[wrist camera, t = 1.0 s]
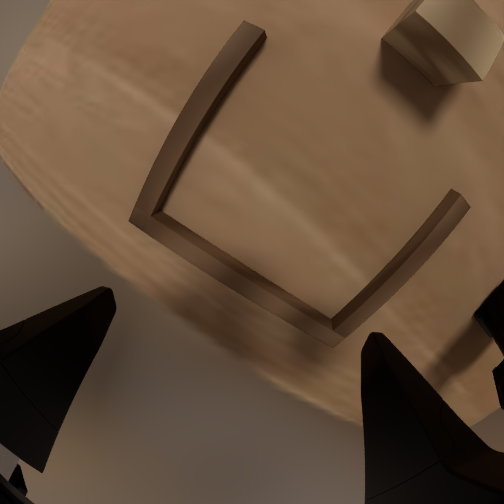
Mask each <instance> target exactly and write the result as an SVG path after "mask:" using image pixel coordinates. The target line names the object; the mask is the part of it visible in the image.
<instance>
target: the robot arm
mask: <svg viewBox="0 0 504 504" xmlns="http://www.w3.org/2000/svg"><path fill="white" fill-rule="evenodd" d="M115 312H116V303H115V299H114V295H113V291H112V289H111V288H108V287H104V286H101V287H98V288H96V289H94V290H91V291H89V292H87V293H84V294H82V295H80V296H77V297H75V298H73V299H70V300H68V301H66V302H63V303H61V304H59V305H57V306H54V307H52V308H50V309H47V310H45V311H43V312H41V313H39V314H36V315H34V316H32V317H30V318H27V319H26V320H23V321H21V322H19V323H16V324H14V325H12V326H10V327H7V328H5V329H2V330H0V504H34V503H33V502H32V501H30V500H29V499H28V498H26V497H25V496H26V494H27V492H28V491H27V488H26V485H25V481H24V478H23V474H22V470H21V467H20V465H19V464H18V461H19V459H21V460H23V461H24V462H26V463H27V464H29V465H30V466H32V467H33V468H35V469H36V470H38V471H39V472H41V473H43V471H44V468H45V466H46V463H47V460H48V458H49V455H50V452H51V450H52V447H53V445H54V442H55V440H56V437H57V435H58V432H59V430H60V428H61V425H62V423H63V421H64V418H65V416H66V414H67V412H68V409H69V407H70V405H71V403H72V401H73V399H74V397H75V395H76V393H77V390H78V389H79V386H80V384H81V383H82V381H83V379H84V377H85V374H86V373H87V371H88V369H89V367H90V365H91V363H92V361H93V359H94V357H95V356H96V354H97V352H98V350H99V348H100V346H101V344H102V342H103V340H104V338H105V335H106V333H107V331H108V328H109V326H110V324H111V321H112V319H113V317H114V315H115ZM475 318H476V320H477V321H478V322H479V324H480V325H481V326H482V327H483V329H484V330H485V331H486V333H487V334H488V335H489V337H490V338H491V337H493V339H494V340H495V342H496V344H497V345H498V347H499V349H500V350H501V352H502V354H503V356H504V282H503V283H502V284H501V285H500V287H499V288H498V289H497V290H496V291H495V292H494V294H493V295H492V296H491V297H490V298H489V299H488V300H487V301H486V302H485V304H484V305H483V306H482V307H481V308H480V309H479V310H478V311H477V312H476V313H475ZM492 372H493V376H494V381H495V385H496V389H497V393H498V398H499V403H500V406H501V408H502V409H503V410H504V359H503V361H502V362H501V363H500V364H499V365H498V366H497V367H495V368H494V369H493V371H492ZM361 402H362V414H363V428H364V446H365V504H504V453H503V452H498V451H496V450H493V449H492V448H490V447H489V446H488V445H486V444H485V443H484V442H483V441H482V440H481V439H480V438H479V437H478V436H477V435H476V434H475V433H474V432H473V431H472V430H471V429H470V428H469V427H468V426H467V425H466V424H465V423H464V422H463V421H462V420H461V419H460V418H459V417H458V416H457V414H456V413H455V412H454V411H453V410H452V409H451V408H450V407H449V406H448V404H447V403H446V402H445V401H444V400H442V398H441V396H440V395H439V394H438V393H437V392H436V391H435V390H434V388H433V387H432V386H431V385H430V384H429V383H428V382H427V381H426V379H425V378H424V377H423V376H422V375H421V374H420V373H419V372H418V371H417V369H416V368H415V367H414V366H413V365H412V364H411V363H410V362H409V361H408V360H407V359H406V357H405V356H404V355H403V354H402V353H401V352H400V351H399V350H398V349H397V348H396V347H395V346H394V345H393V344H392V342H391V341H390V340H389V339H388V338H387V337H386V336H385V335H384V334H383V333H379V332H371V333H370V334H369V336H368V338H367V340H366V342H365V344H364V346H363V348H362V351H361Z"/></svg>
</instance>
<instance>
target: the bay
mask: <svg viewBox="0 0 504 504" xmlns="http://www.w3.org/2000/svg"><path fill="white" fill-rule="evenodd" d="M266 37H267V36H266V33H265V30H263V29H261V28H259V27H257V26H255V25H253V24H251V23H249V22H246V21H243V22H242V23H241V25H240V26H239V27H238V28H237V30H236V31H235V32H234V33H233V35H232V36H231V37H230V39H229V40H228V41H227V43H226V44H225V45H224V47H223V48H222V50H221V51H220V52H219V54H218V55H217V57H216V58H215V59H214V61H213V62H212V64H211V65H210V67H209V68H208V70H207V71H206V73H205V74H204V76H203V77H202V79H201V80H200V82H199V83H198V85H197V86H196V88H195V90H194V91H193V93H192V95H191V96H190V98H189V99H188V101H187V103H186V104H185V106H184V108H183V110H182V111H181V113H180V115H179V116H178V118H177V120H176V122H175V124H174V125H173V127H172V129H171V131H170V133H169V135H168V136H167V138H166V140H165V142H164V144H163V146H162V148H161V150H160V152H159V154H158V156H157V158H156V160H155V162H154V164H153V166H152V168H151V170H150V173H149V175H148V177H147V179H146V181H145V183H144V186H143V188H142V190H141V192H140V195H139V197H138V199H137V202H136V204H135V206H134V209H133V211H132V214H131V216H130V219H129V222H130V223H132V224H133V225H135V226H136V227H138V228H139V229H141V230H142V231H143V232H145V233H146V234H148V235H149V236H151V237H152V238H154V239H155V240H157V241H158V242H160V243H161V244H163V245H164V246H166V247H167V248H169V249H170V250H172V251H173V252H175V253H176V254H178V255H179V256H181V257H183V258H184V259H186V260H187V261H189V262H190V263H192V264H193V265H195V266H196V267H198V268H200V269H201V270H203V271H204V272H206V273H207V274H209V275H211V276H212V277H214V278H215V279H217V280H219V281H220V282H222V283H223V284H225V285H227V286H228V287H230V288H231V289H233V290H235V291H236V292H238V293H240V294H241V295H243V296H244V297H246V298H248V299H249V300H251V301H253V302H254V303H256V304H258V305H259V306H261V307H263V308H264V309H266V310H268V311H269V312H271V313H273V314H275V315H276V316H278V317H280V318H281V319H283V320H285V321H287V322H288V323H290V324H292V325H293V326H295V327H297V328H299V329H300V330H302V331H304V332H306V333H307V334H309V335H311V336H313V337H315V338H316V339H318V340H320V341H322V342H324V343H325V344H327V345H329V346H331V347H333V348H334V347H335V346H336V345H337V344H339V343H340V342H341V341H342V340H343V339H345V338H346V337H347V336H348V335H349V334H351V333H352V332H353V331H354V330H355V329H357V328H358V327H359V326H360V325H361V324H362V323H364V322H365V321H366V320H367V319H368V318H369V317H370V316H371V315H373V314H374V313H375V312H376V311H377V310H378V309H379V308H380V307H381V306H382V305H383V304H384V303H386V302H387V301H388V300H389V299H390V298H391V297H392V296H393V295H394V294H395V293H396V292H397V291H398V290H399V289H400V288H401V287H402V286H403V285H404V284H405V283H406V282H407V281H408V280H409V279H410V278H411V277H412V276H413V275H414V274H415V273H416V272H417V271H418V269H419V268H420V267H421V266H422V265H423V264H424V263H425V262H426V261H427V260H428V259H429V258H430V256H431V255H432V254H433V253H434V252H435V251H436V250H437V248H438V247H439V246H440V245H441V244H442V243H443V242H444V240H445V239H446V238H447V237H448V236H449V234H450V233H451V232H452V231H453V229H454V228H455V227H456V226H457V224H458V223H459V222H460V221H461V219H462V218H463V217H464V215H465V214H466V213H467V212H468V210H469V209H470V208H471V207H470V206H469V204H468V203H467V202H466V200H465V199H464V197H463V196H462V195H461V194H460V193H458V192H456V191H454V190H453V189H451V190H450V191H449V193H448V194H447V195H446V197H445V198H444V199H443V200H442V202H441V203H440V204H439V206H438V207H437V208H436V209H435V211H434V212H433V213H432V214H431V216H430V217H429V218H428V219H427V220H426V222H425V223H424V224H423V225H422V226H421V228H420V229H419V230H418V231H417V232H416V233H415V235H414V236H413V237H412V238H411V239H410V240H409V242H408V243H407V244H406V245H405V246H404V247H403V248H402V249H401V250H400V252H399V253H398V254H397V255H396V256H395V257H394V258H393V259H392V260H391V261H390V262H389V263H388V265H387V266H386V267H385V268H384V269H383V270H382V271H381V272H380V273H379V274H378V275H377V276H376V277H375V278H374V279H373V280H372V281H371V282H370V283H369V284H368V285H367V286H366V287H365V288H364V289H363V290H362V291H361V292H360V293H359V294H358V295H357V296H356V297H355V298H354V299H353V300H352V301H351V302H350V303H348V304H347V305H346V306H345V307H344V308H343V309H342V310H341V311H340V312H339V313H338V314H337V315H336V316H334V317H333V318H332V319H330V318H328V317H327V316H325V315H323V314H322V313H320V312H319V311H317V310H315V309H314V308H312V307H310V306H309V305H307V304H306V303H304V302H302V301H301V300H299V299H298V298H296V297H294V296H293V295H291V294H290V293H288V292H287V291H285V290H283V289H282V288H280V287H279V286H277V285H275V284H274V283H272V282H271V281H269V280H267V279H266V278H264V277H263V276H261V275H260V274H258V273H256V272H255V271H253V270H252V269H250V268H249V267H247V266H245V265H244V264H242V263H241V262H239V261H238V260H236V259H235V258H233V257H231V256H230V255H228V254H227V253H225V252H224V251H222V250H221V249H219V248H217V247H216V246H214V245H213V244H211V243H210V242H208V241H207V240H205V239H204V238H202V237H200V236H199V235H197V234H196V233H194V232H193V231H191V230H190V229H188V228H187V227H185V226H184V225H182V224H181V223H179V222H177V221H176V220H174V219H173V218H171V217H170V216H168V215H167V214H165V213H164V212H162V211H161V210H159V209H160V207H161V205H162V203H163V201H164V199H165V197H166V195H167V193H168V191H169V189H170V187H171V185H172V183H173V181H174V179H175V177H176V176H177V174H178V172H179V170H180V168H181V166H182V164H183V163H184V161H185V159H186V157H187V155H188V154H189V152H190V150H191V148H192V147H193V145H194V143H195V141H196V140H197V138H198V136H199V135H200V133H201V131H202V130H203V128H204V126H205V125H206V123H207V121H208V120H209V118H210V117H211V115H212V113H213V112H214V110H215V109H216V107H217V106H218V104H219V103H220V101H221V99H222V98H223V96H224V95H225V93H226V92H227V90H228V89H229V88H230V86H231V85H232V83H233V82H234V80H235V79H236V77H237V76H238V75H239V73H240V72H241V70H242V69H243V68H244V66H245V65H246V63H247V62H248V61H249V59H250V58H251V57H252V55H253V54H254V53H255V51H256V50H257V49H258V47H259V46H260V45H261V44H262V42H263V41H264V40H265V39H266Z"/></svg>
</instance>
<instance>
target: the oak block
mask: <svg viewBox="0 0 504 504" xmlns="http://www.w3.org/2000/svg"><path fill="white" fill-rule="evenodd" d="M382 39H383V40H384V41H385V42H387V43H388V44H389V45H390V46H392V47H393V48H394V49H395V50H397V51H398V52H399V53H400V54H401V55H402V56H404V57H405V58H406V59H407V60H408V61H409V62H410V63H411V64H412V65H414V66H415V67H416V68H417V69H418V70H419V71H420V72H421V73H422V74H423V75H424V76H425V77H426V78H427V79H428V80H429V81H430V82H431V83H432V84H433V85H434V86H441V85H448V84H456V83H465V82H475V81H483V80H484V78H485V76H486V75H487V73H488V71H489V69H490V67H491V65H492V64H493V62H494V60H495V58H496V56H497V54H498V52H499V50H500V48H501V46H502V44H503V42H504V34H503V33H502V32H501V31H500V29H499V28H498V27H497V26H496V25H495V23H494V22H493V21H492V20H491V19H490V18H489V16H488V15H487V14H486V13H485V12H484V11H483V10H482V9H481V8H480V7H479V6H478V5H477V3H476V2H475V1H474V0H414V1H412V2H411V3H410V4H409V6H408V7H407V8H406V9H405V10H404V12H403V13H402V14H401V15H400V16H399V18H398V19H397V20H396V21H395V22H394V24H393V25H392V26H391V27H390V28H389V30H388V31H387V32H386V33H385V35H384V36H383V37H382Z"/></svg>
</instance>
